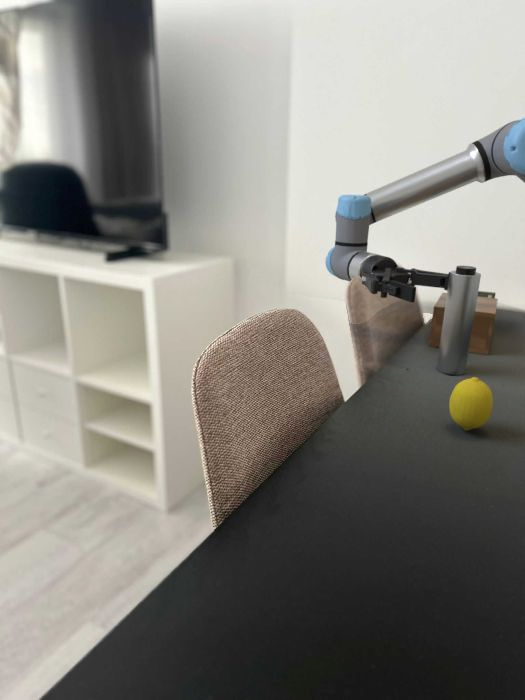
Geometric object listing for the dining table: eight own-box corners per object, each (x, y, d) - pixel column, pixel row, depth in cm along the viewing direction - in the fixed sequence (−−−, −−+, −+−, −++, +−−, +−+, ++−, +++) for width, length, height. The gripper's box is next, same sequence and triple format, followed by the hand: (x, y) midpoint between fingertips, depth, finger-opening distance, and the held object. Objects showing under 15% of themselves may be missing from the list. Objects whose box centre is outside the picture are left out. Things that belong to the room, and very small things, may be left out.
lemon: (438, 429, 72) (446, 376, 69) (456, 417, 76) (464, 367, 73) (477, 444, 68) (487, 389, 66) (494, 430, 72) (504, 378, 69)
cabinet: (437, 328, 120) (442, 292, 117) (491, 335, 115) (497, 298, 112) (428, 346, 107) (433, 306, 104) (488, 355, 103) (495, 313, 100)
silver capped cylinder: (451, 364, 97) (466, 264, 91) (471, 373, 93) (488, 268, 87) (430, 367, 95) (444, 265, 89) (449, 376, 91) (466, 270, 85)
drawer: (446, 313, 130) (450, 286, 128) (491, 318, 126) (495, 291, 124) (439, 327, 117) (443, 298, 115) (488, 334, 113) (493, 304, 111)
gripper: (417, 285, 118) (490, 306, 100) (323, 292, 108) (385, 318, 90) (421, 252, 116) (496, 268, 97) (326, 257, 106) (389, 275, 88)
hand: (443, 292), depth 94 cm, fingers open, 13 cm apart
